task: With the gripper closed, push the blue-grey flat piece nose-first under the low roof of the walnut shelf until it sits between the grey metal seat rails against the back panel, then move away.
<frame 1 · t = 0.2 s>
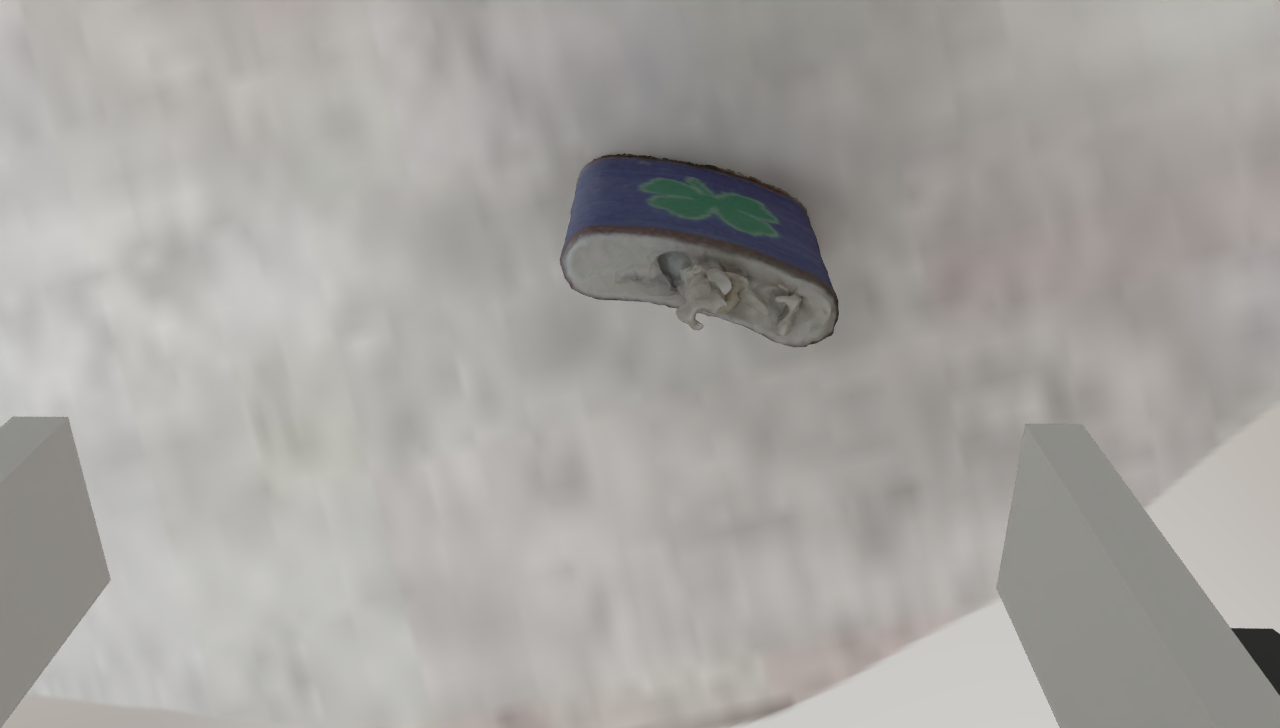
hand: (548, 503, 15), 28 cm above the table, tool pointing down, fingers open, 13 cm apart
flask: (695, 199, 42), on the table
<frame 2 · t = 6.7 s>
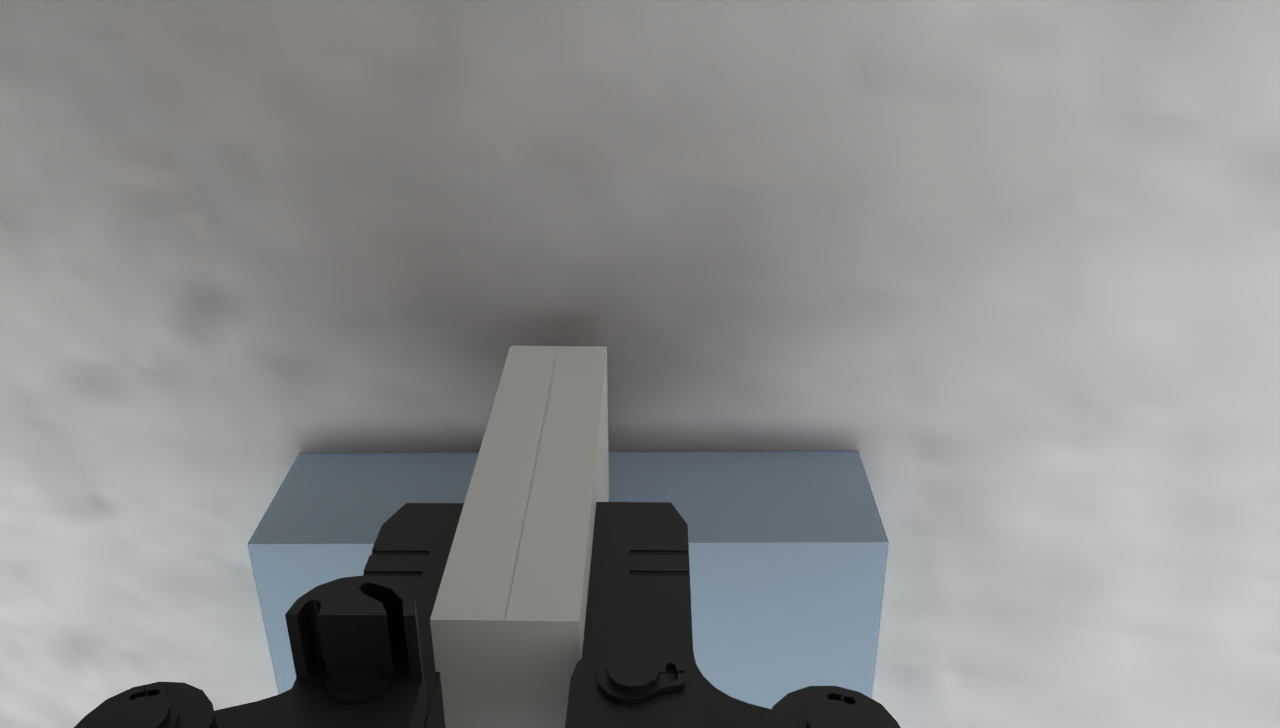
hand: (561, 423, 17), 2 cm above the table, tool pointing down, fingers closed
blue-grey flat piece: (586, 640, 22), on the table
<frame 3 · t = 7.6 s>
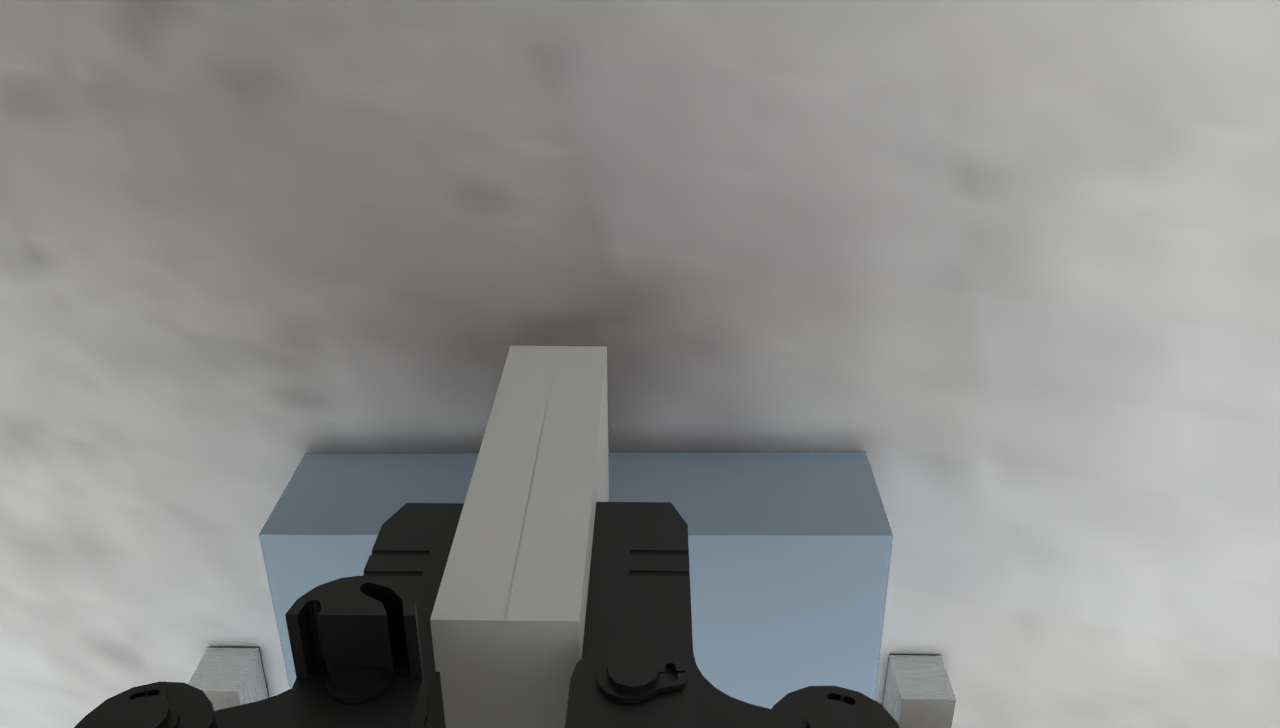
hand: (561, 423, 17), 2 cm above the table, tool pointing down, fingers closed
blue-grey flat piece: (593, 633, 22), on the table, touching gripper
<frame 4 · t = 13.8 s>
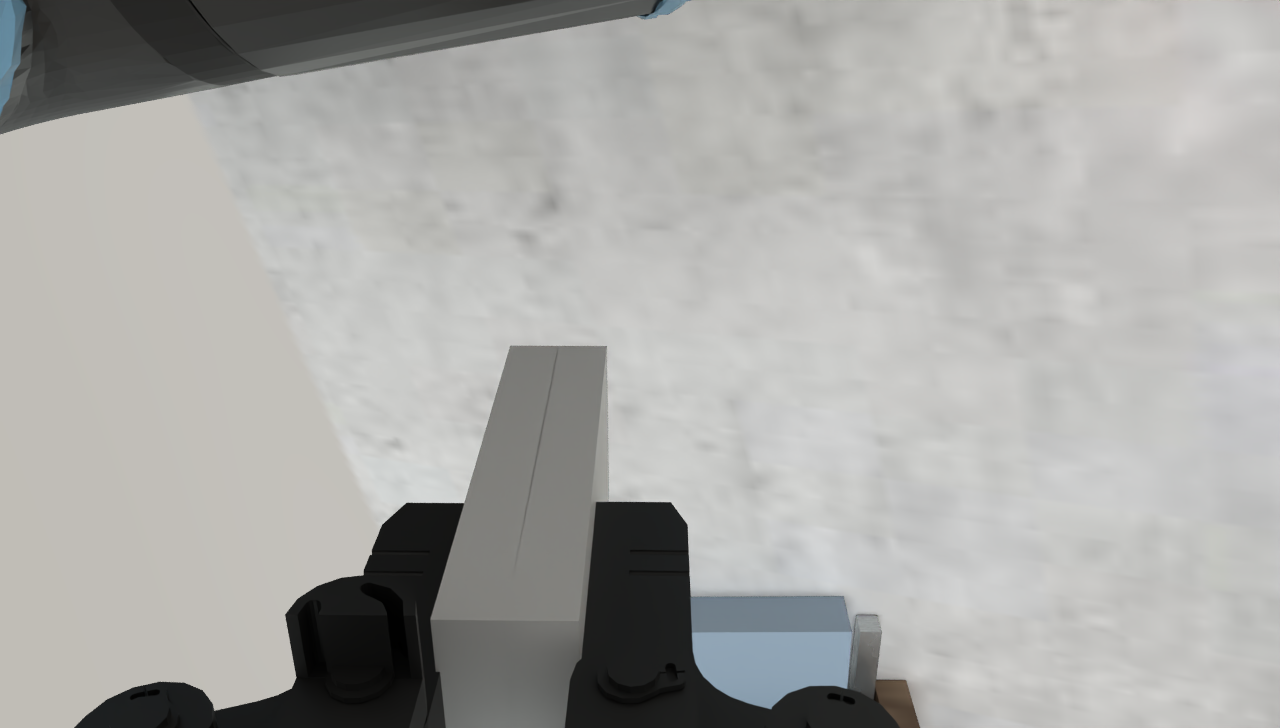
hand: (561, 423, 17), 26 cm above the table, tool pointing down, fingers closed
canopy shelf: (721, 724, 55), on the table
blue-grey flat piece: (735, 664, 54), on the table
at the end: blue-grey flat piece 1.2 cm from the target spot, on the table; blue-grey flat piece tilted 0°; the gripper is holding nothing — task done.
